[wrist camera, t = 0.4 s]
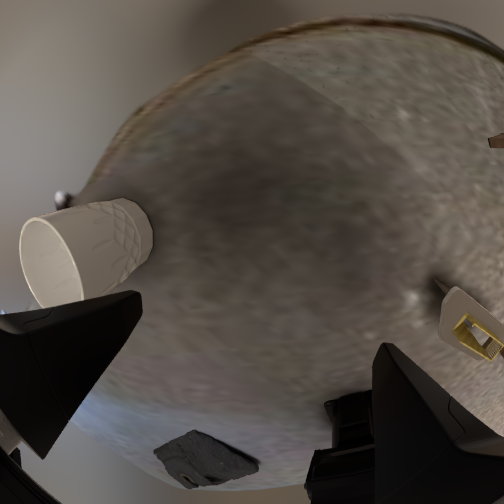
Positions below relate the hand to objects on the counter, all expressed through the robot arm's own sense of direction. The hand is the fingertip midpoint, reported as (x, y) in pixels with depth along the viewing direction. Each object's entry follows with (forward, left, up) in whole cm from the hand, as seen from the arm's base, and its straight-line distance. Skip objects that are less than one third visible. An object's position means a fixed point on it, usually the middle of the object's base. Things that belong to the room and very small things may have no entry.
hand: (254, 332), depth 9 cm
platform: (-12, -12, -13) cm, 22 cm away
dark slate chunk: (-33, +28, -13) cm, 45 cm away
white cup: (+6, +14, -13) cm, 19 cm away
